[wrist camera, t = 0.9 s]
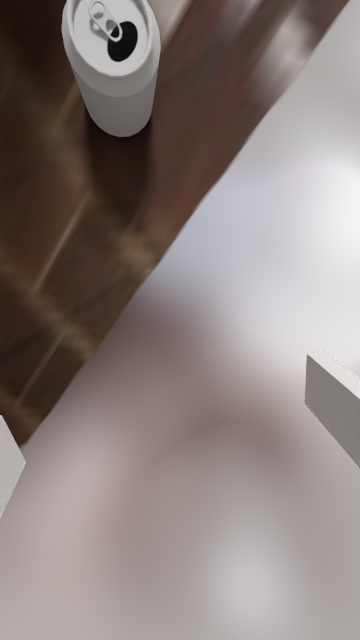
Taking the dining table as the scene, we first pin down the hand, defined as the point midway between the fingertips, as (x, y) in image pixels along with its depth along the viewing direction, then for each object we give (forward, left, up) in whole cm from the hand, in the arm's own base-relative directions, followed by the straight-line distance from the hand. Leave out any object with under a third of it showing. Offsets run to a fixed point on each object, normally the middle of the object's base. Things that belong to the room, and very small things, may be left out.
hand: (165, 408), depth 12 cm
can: (-21, +6, -27) cm, 35 cm away
